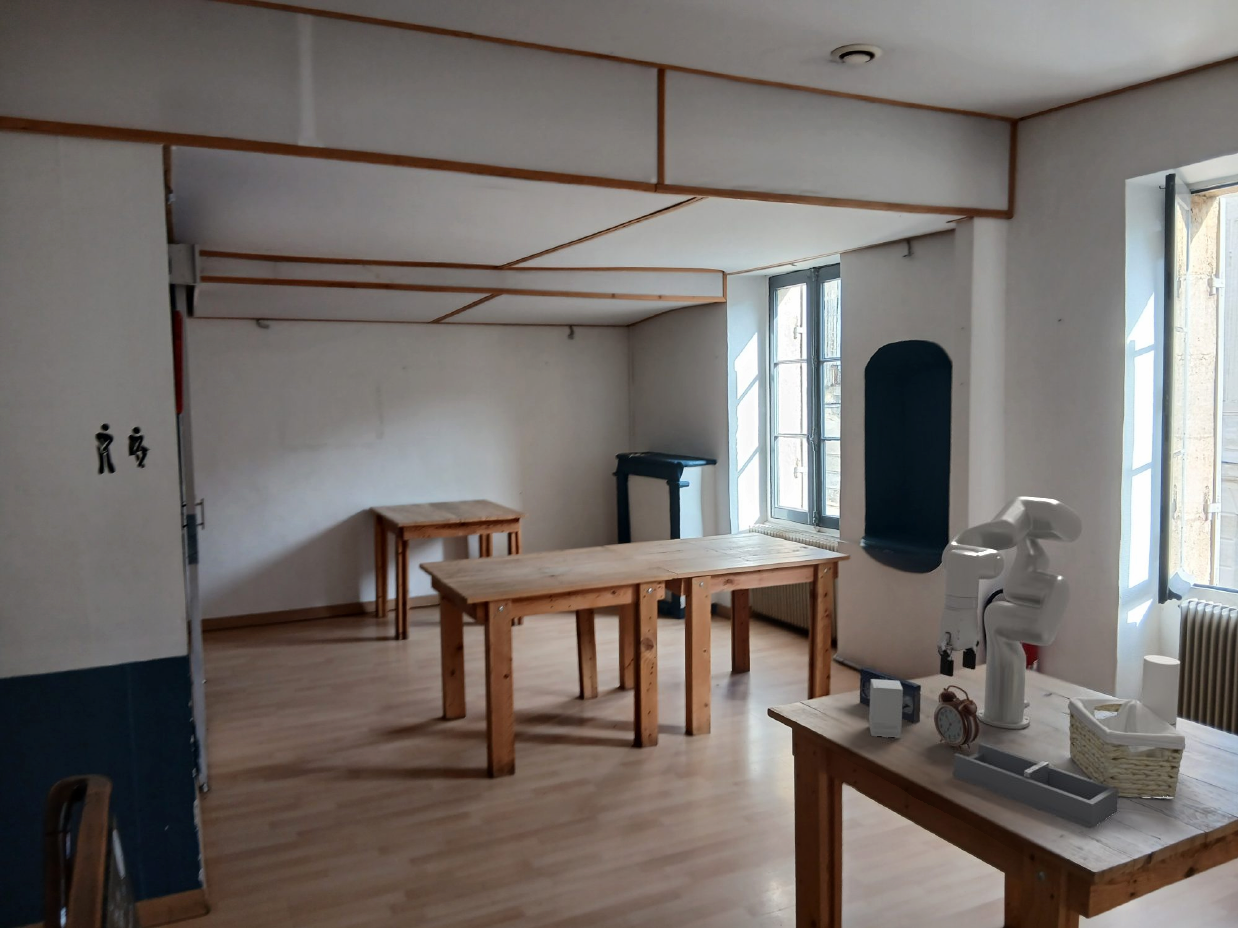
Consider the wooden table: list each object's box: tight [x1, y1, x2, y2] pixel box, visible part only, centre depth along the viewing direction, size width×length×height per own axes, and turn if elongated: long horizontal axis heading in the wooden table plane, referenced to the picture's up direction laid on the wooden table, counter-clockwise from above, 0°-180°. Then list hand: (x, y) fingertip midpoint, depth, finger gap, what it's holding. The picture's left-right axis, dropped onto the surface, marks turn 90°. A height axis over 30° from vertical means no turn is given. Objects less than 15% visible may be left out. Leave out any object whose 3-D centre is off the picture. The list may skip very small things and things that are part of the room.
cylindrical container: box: [1140, 654, 1181, 730], centre depth 205 cm, size 7×7×25 cm
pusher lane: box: [952, 742, 1119, 830], centre depth 190 cm, size 12×30×5 cm, turn 38°
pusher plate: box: [1024, 761, 1050, 785], centre depth 190 cm, size 8×1×5 cm, turn 128°
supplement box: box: [868, 679, 903, 739], centre depth 224 cm, size 7×7×13 cm
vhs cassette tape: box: [859, 667, 922, 724], centre depth 238 cm, size 18×3×10 cm, turn 33°
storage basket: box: [1067, 696, 1186, 798], centre depth 198 cm, size 24×16×15 cm
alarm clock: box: [933, 685, 980, 753], centre depth 215 cm, size 11×5×15 cm, turn 25°
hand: (957, 671), depth 214 cm, fingers open, 9 cm apart
